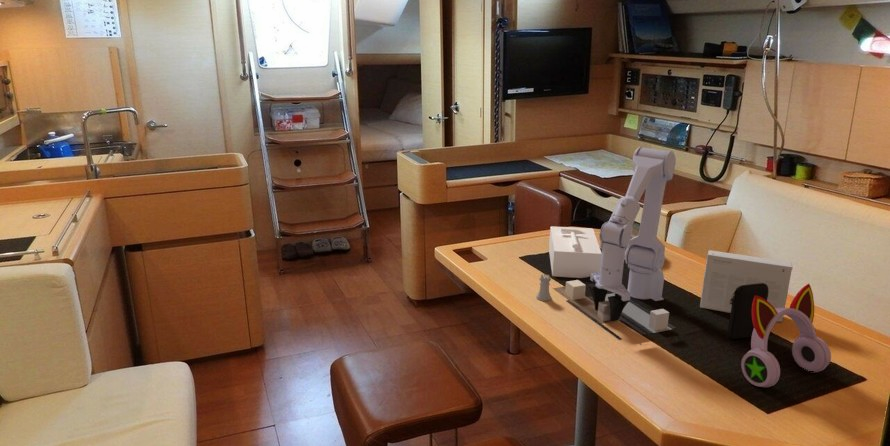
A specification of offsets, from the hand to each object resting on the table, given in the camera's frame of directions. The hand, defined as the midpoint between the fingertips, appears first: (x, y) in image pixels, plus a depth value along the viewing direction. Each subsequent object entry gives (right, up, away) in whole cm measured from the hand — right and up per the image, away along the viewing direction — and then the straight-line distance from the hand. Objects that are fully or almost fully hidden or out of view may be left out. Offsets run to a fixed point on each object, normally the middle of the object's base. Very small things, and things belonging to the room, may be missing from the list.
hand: (606, 315), depth 168 cm
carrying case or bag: (+33, -5, -6) cm, 34 cm away
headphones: (+34, -11, -23) cm, 42 cm away
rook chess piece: (-15, +2, +12) cm, 19 cm away
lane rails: (+4, -1, +3) cm, 5 cm away
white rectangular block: (-1, +11, +42) cm, 43 cm away
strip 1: (-4, +1, +9) cm, 10 cm away
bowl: (+23, +13, +50) cm, 57 cm away
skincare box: (+40, 0, +9) cm, 41 cm away
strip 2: (+8, -1, +5) cm, 10 cm away
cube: (-6, +3, +14) cm, 15 cm away
